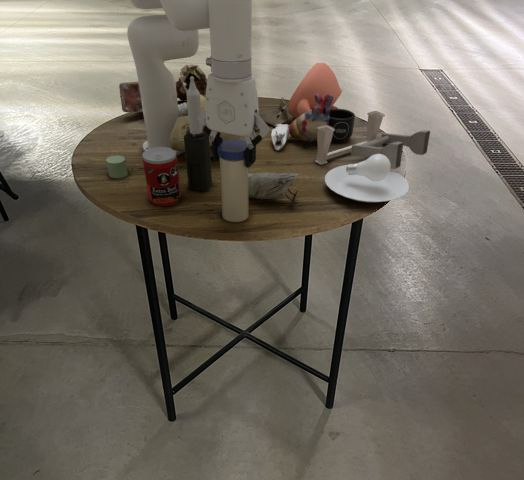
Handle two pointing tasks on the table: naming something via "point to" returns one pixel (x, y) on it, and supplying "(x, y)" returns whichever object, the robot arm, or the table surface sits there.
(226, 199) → the jar
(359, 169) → the lightbulb
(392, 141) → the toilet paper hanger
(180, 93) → the bear figurine
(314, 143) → the accessory
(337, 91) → the pink curved piece
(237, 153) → the lid
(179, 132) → the skull
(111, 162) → the stand
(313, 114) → the anatomical model
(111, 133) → the table surface
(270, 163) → the table surface
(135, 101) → the decorative box
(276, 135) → the bird figurine
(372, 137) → the toilet paper hanger
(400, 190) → the plate
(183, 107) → the light bulb
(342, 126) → the mug
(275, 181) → the decorative bird
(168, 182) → the canned food
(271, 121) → the pottery fragment
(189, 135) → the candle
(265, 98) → the table surface
